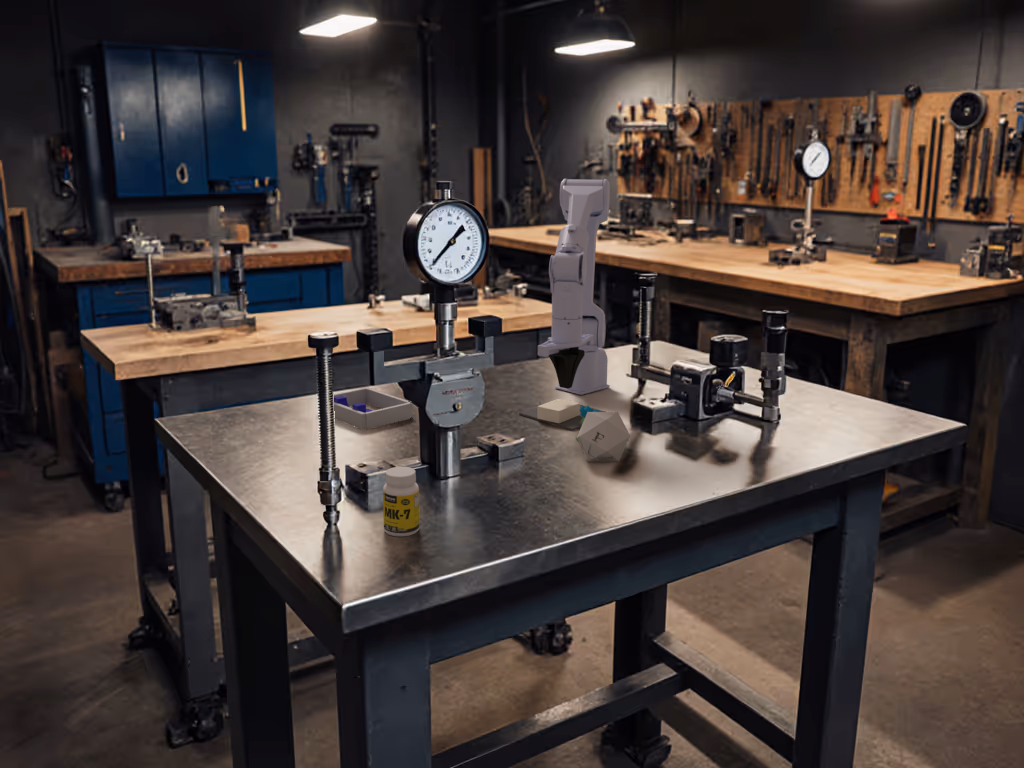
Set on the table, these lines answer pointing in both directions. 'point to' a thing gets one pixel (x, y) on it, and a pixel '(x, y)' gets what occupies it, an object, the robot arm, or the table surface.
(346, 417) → the parts tray
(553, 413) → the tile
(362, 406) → the blue stepped block
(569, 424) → the mat
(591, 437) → the die
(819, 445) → the table surface
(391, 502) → the supplement bottle
